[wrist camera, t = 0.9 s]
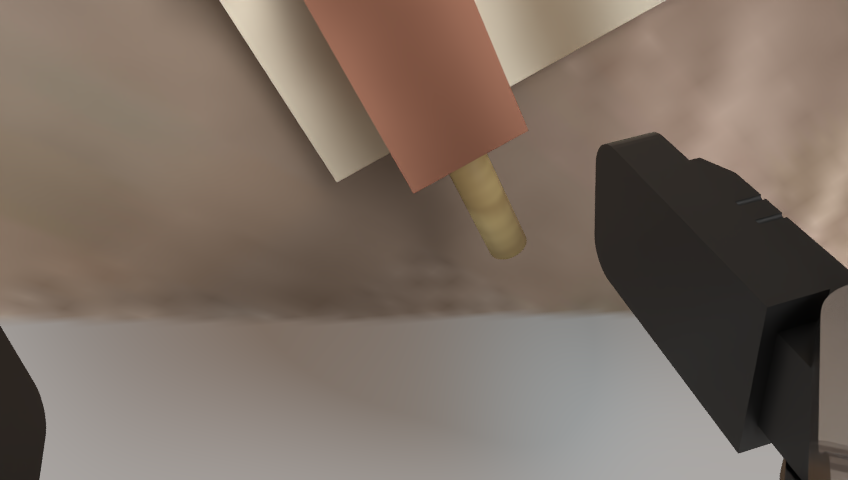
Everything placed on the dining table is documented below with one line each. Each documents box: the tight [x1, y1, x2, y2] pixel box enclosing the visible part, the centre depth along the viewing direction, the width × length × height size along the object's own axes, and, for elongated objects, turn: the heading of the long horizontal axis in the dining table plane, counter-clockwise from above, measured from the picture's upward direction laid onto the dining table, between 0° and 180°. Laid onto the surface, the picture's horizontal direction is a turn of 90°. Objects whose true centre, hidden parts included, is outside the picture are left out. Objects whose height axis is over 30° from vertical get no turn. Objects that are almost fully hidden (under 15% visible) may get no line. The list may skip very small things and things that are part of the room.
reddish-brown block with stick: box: [304, 0, 528, 259], centre depth 26 cm, size 4×12×6 cm, turn 25°
